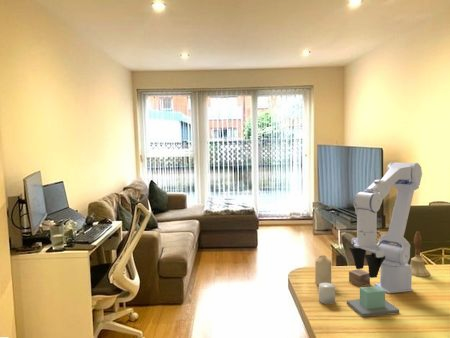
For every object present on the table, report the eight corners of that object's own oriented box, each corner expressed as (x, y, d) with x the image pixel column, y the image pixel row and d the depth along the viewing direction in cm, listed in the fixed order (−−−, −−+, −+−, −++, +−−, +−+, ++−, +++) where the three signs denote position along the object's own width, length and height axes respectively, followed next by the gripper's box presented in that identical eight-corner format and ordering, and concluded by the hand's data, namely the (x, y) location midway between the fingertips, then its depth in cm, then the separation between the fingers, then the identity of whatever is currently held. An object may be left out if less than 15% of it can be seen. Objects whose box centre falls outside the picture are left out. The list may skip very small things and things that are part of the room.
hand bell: (401, 272, 141) (402, 232, 140) (410, 267, 147) (411, 228, 145) (425, 278, 135) (426, 236, 134) (433, 272, 141) (434, 231, 139)
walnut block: (359, 279, 136) (359, 268, 135) (369, 284, 131) (369, 273, 131) (348, 281, 133) (349, 271, 133) (359, 286, 129) (359, 275, 129)
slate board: (381, 300, 118) (381, 297, 118) (399, 312, 109) (399, 309, 109) (346, 303, 116) (346, 300, 116) (362, 317, 107) (362, 313, 107)
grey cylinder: (330, 296, 121) (330, 282, 121) (337, 303, 116) (337, 288, 116) (316, 298, 120) (316, 283, 120) (322, 304, 115) (323, 289, 115)
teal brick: (377, 301, 115) (377, 285, 114) (385, 307, 111) (385, 290, 110) (359, 303, 114) (359, 287, 113) (366, 309, 110) (367, 292, 109)
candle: (331, 287, 129) (332, 259, 128) (315, 286, 130) (315, 258, 129) (330, 281, 134) (330, 254, 133) (315, 280, 135) (315, 253, 134)
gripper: (343, 225, 121) (342, 266, 122) (368, 237, 107) (367, 282, 108) (362, 224, 122) (362, 264, 123) (390, 235, 108) (389, 280, 109)
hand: (366, 272), depth 116 cm, fingers open, 7 cm apart
